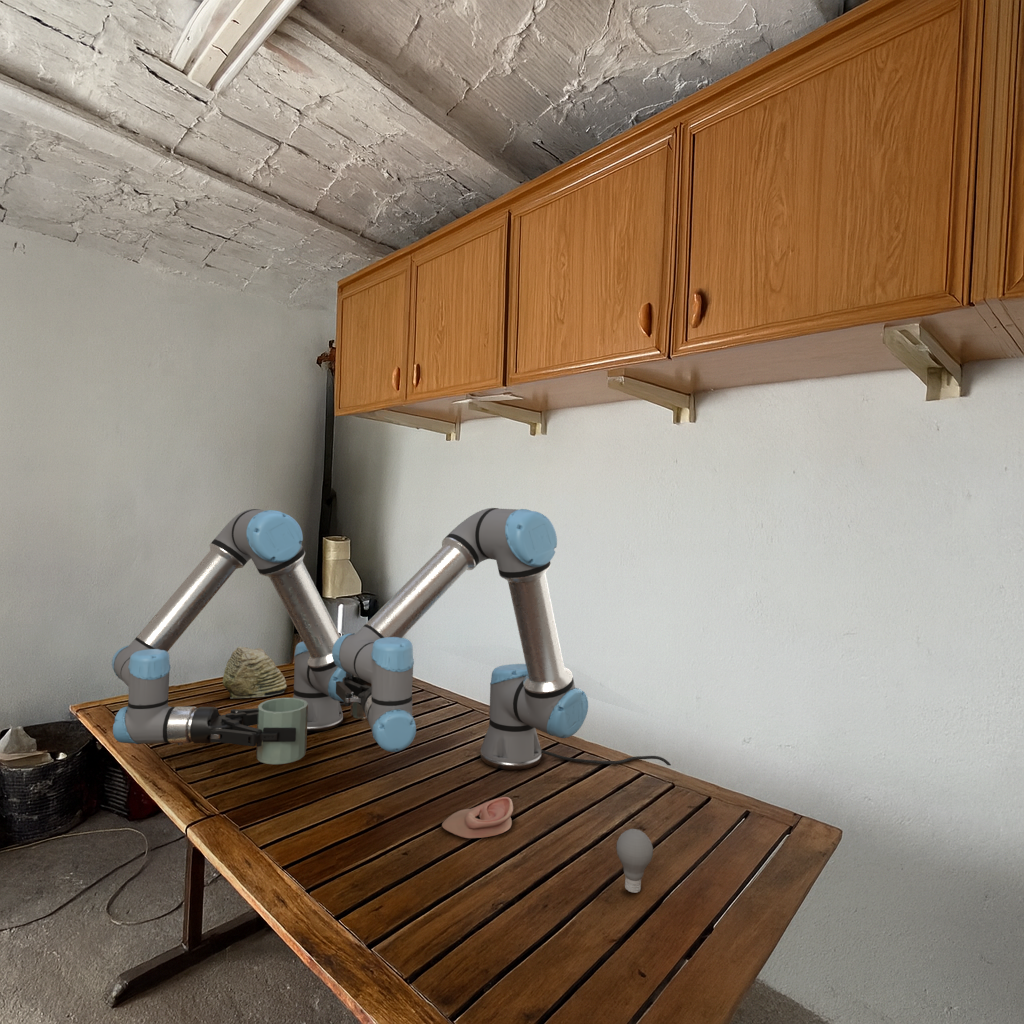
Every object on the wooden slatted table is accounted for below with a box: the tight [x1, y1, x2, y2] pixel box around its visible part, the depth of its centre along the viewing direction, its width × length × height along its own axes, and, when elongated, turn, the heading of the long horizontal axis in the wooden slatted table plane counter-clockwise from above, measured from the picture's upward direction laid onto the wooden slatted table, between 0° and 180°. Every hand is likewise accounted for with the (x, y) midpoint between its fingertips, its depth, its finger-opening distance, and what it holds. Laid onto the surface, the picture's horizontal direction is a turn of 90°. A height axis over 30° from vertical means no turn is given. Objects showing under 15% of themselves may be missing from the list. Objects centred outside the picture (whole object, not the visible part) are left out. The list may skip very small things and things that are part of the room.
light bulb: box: [615, 828, 654, 894], centre depth 106 cm, size 6×6×10 cm
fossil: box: [222, 646, 288, 699], centre depth 198 cm, size 9×18×15 cm, turn 132°
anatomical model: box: [441, 796, 514, 839], centre depth 125 cm, size 13×4×12 cm
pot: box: [255, 697, 308, 765], centre depth 139 cm, size 10×10×11 cm
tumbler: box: [350, 674, 372, 721], centre depth 145 cm, size 8×8×12 cm
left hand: (301, 725), depth 139 cm, fingers closed on pot, 10 cm apart
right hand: (367, 674), depth 149 cm, fingers closed on tumbler, 8 cm apart
